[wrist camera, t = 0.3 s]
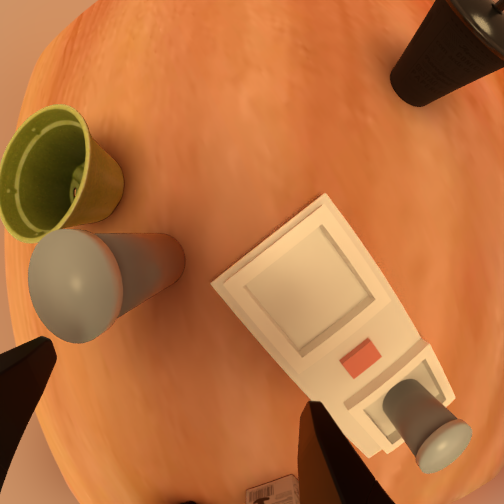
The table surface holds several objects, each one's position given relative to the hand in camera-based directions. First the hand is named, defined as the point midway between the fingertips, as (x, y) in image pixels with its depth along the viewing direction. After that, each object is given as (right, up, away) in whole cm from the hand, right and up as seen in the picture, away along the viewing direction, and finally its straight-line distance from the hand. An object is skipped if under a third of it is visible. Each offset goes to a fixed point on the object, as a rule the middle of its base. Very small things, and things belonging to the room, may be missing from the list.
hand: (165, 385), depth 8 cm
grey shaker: (-5, +4, +15) cm, 16 cm away
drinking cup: (+18, +21, +14) cm, 31 cm away
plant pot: (-11, +10, +15) cm, 21 cm away
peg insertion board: (+12, -4, +15) cm, 20 cm away
